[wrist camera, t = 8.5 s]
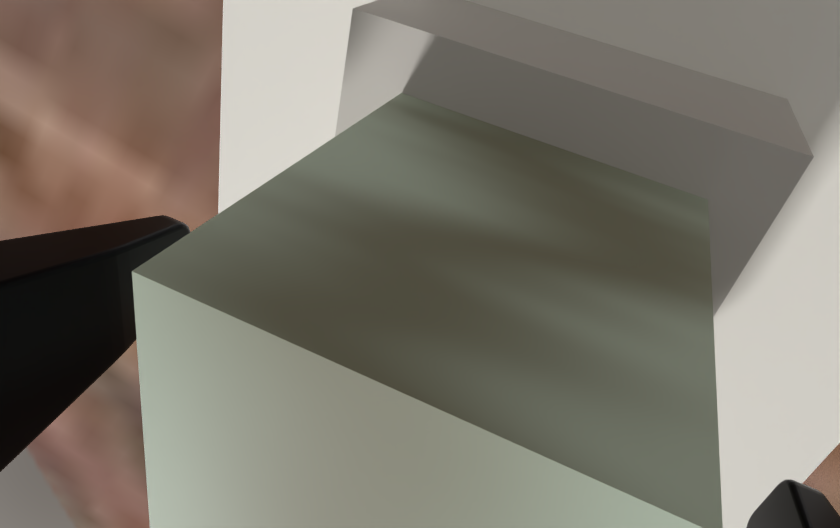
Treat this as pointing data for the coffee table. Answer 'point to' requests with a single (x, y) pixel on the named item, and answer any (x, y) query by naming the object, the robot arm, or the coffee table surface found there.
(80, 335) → the robot arm
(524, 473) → the sage block
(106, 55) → the coffee table surface
